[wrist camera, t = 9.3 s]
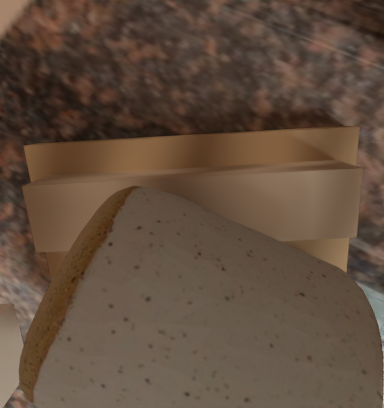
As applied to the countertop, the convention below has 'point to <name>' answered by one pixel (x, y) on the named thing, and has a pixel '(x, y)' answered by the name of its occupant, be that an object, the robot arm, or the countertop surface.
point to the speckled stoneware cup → (197, 318)
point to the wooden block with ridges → (206, 184)
